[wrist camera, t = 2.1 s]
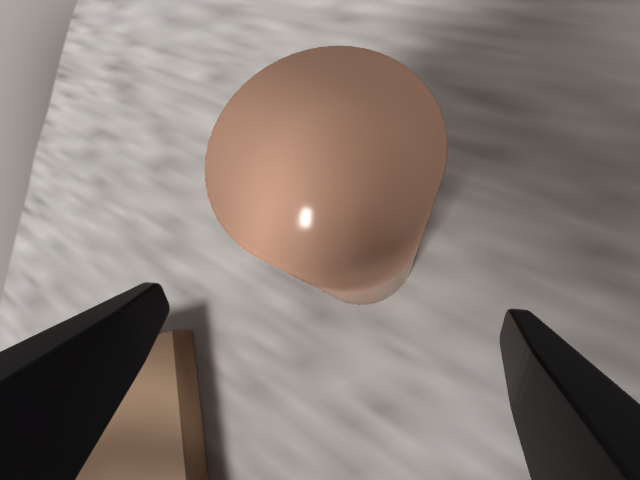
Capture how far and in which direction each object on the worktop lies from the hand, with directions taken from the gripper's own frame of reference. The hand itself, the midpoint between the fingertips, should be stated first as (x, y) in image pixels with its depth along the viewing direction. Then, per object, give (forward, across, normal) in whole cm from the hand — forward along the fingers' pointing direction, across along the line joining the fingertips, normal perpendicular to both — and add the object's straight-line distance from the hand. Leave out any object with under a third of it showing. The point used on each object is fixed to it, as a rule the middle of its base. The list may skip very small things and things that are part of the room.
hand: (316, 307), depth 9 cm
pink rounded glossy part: (+10, 0, +5) cm, 11 cm away
